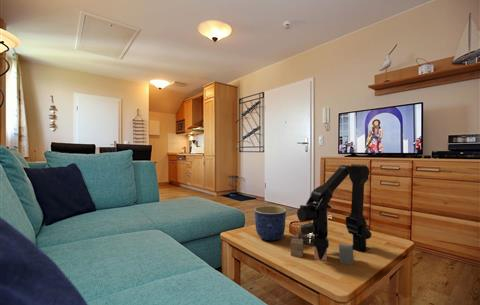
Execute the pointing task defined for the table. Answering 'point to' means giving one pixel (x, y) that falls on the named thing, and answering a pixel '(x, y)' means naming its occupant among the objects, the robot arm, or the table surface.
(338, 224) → the table surface
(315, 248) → the terracotta block
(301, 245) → the walnut block
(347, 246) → the charcoal block
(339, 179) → the robot arm
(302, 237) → the walkie-talkie
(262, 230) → the planter
